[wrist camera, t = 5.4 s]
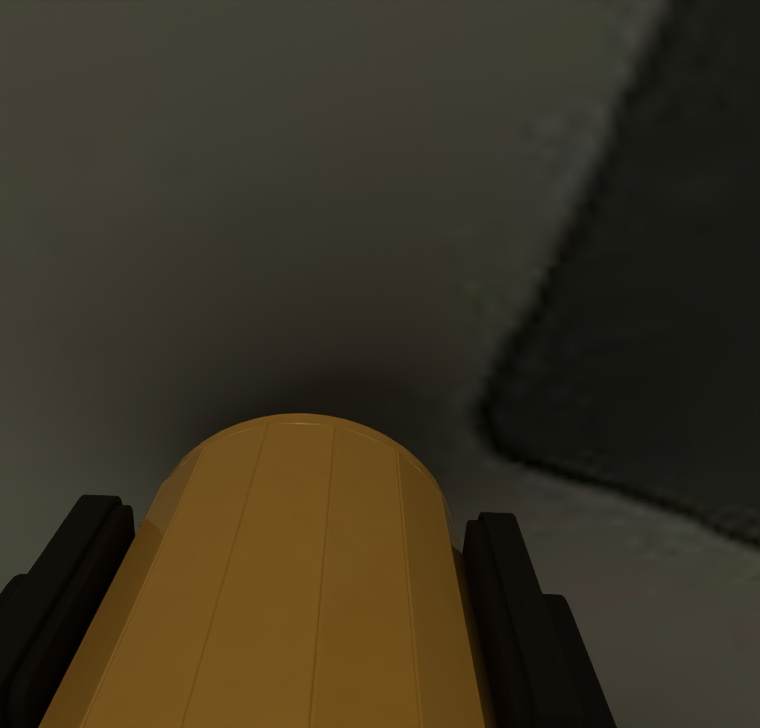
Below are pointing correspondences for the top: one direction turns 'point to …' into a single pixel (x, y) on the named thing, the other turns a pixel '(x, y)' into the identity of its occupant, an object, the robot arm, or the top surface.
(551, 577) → the top surface
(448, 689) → the yellow cylinder
